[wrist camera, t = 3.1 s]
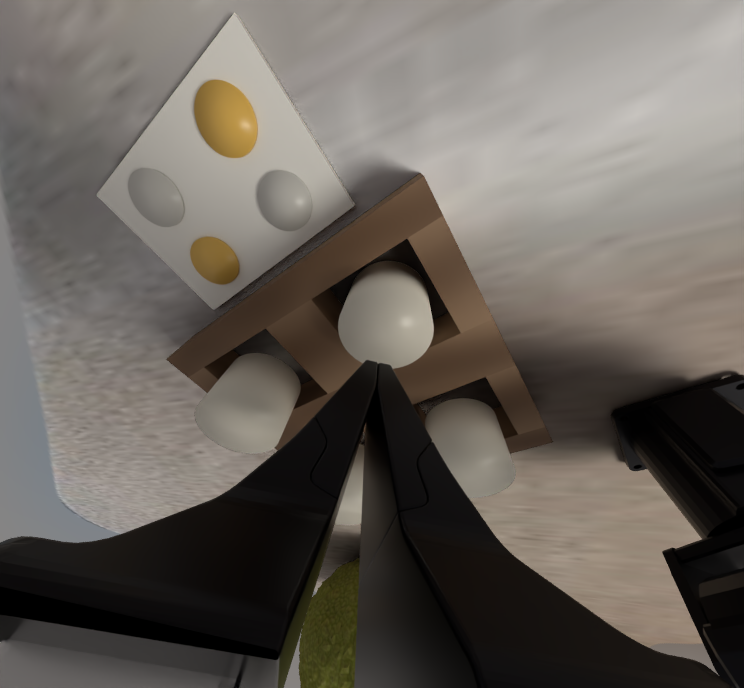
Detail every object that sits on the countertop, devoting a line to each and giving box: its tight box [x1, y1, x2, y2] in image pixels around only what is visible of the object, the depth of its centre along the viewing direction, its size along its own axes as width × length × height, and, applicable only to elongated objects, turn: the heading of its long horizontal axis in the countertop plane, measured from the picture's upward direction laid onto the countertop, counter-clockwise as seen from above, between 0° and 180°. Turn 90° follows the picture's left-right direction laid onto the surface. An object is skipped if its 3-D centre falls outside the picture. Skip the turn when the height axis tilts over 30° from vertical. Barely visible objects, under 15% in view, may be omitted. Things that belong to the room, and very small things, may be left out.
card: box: [96, 13, 355, 310], centre depth 13 cm, size 7×10×1 cm
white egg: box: [338, 261, 434, 369], centre depth 13 cm, size 4×4×3 cm
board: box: [166, 173, 553, 454], centre depth 17 cm, size 16×16×2 cm
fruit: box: [299, 558, 360, 688], centre depth 29 cm, size 16×14×15 cm
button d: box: [195, 353, 301, 454], centre depth 14 cm, size 4×4×3 cm
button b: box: [335, 444, 364, 525], centre depth 18 cm, size 4×4×3 cm
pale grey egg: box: [425, 398, 516, 498], centre depth 15 cm, size 4×4×3 cm
